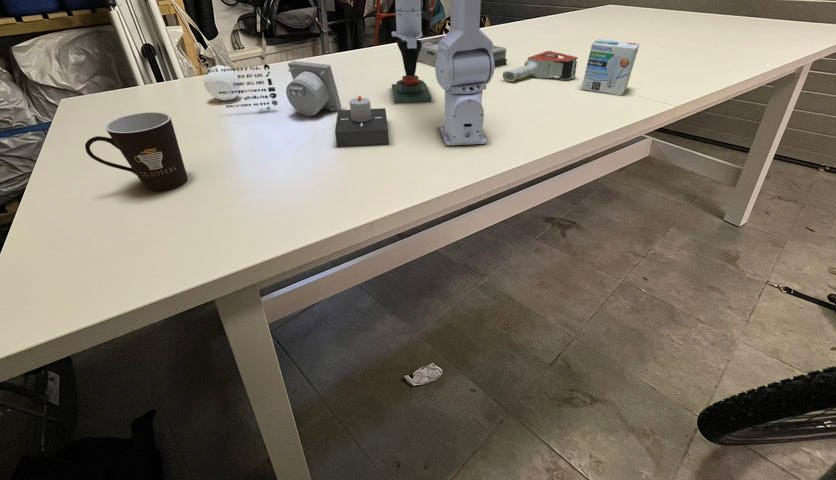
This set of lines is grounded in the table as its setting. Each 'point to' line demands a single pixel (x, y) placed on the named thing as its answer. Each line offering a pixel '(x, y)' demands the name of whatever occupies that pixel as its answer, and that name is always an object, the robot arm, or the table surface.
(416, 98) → the button block
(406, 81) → the button
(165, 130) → the coffee mug
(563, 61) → the tape dispenser
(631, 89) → the table surface
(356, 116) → the knob
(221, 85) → the motion sensor
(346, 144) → the dial panel
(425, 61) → the hard drive
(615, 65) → the light bulb box
